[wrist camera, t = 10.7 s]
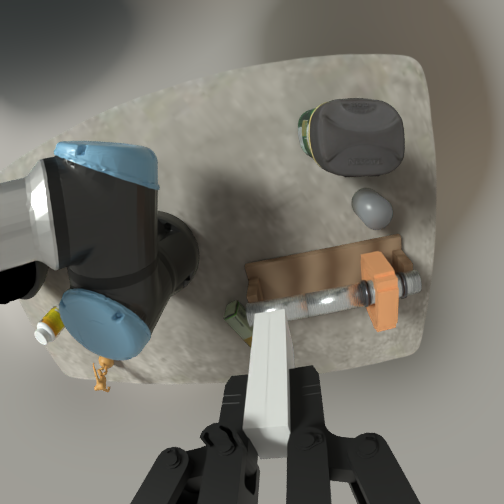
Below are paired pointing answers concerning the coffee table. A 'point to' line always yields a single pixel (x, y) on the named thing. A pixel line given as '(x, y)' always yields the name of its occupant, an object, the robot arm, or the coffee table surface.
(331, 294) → the pipe
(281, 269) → the stand
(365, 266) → the ring
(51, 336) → the supplement bottle
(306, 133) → the coffee jar
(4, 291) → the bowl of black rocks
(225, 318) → the medication box
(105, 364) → the figurine
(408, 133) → the coffee table surface
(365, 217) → the gray egg
